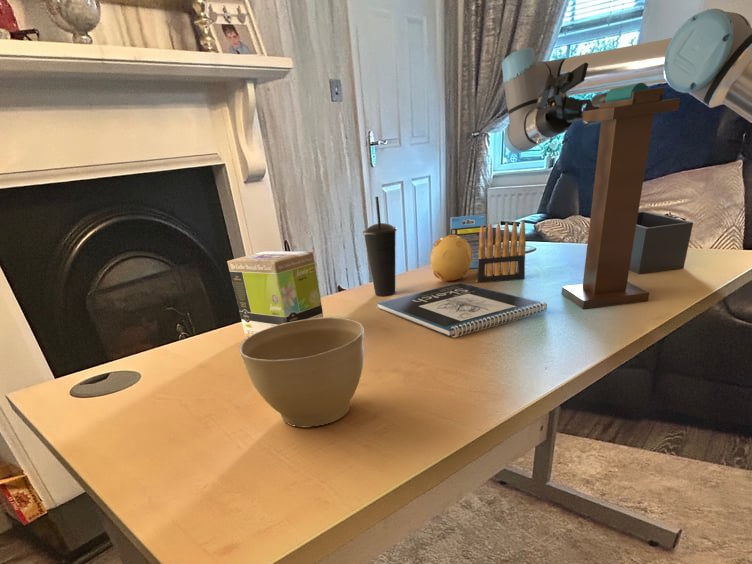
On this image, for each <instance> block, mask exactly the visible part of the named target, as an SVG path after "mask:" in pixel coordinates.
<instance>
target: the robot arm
mask: <svg viewBox="0 0 752 564" xmlns="http://www.w3.org/2000/svg"><path fill="white" fill-rule="evenodd" d="M501 69H502V70H501V71H502V82H503V88H504V93H505V94H504V95H505V100H506V106H507V114H508V122H509V123H508V124H507V125H506V127H505V130H504V133H503V141H504V145H505V147H506V149H507V150H508V151H509V152H511V153H512V154H521V153H524V152H526V151H530V150H532V149H533V148H535V147H537V146H539V145H541V144H542V143H544V142H546V141H548V140H551V139H552V138H555V137H557V136H559V135H561V134H563V133H565V132H566V131H567V130H568V129H569V128H570V127H571V125H572V124H573V123H575V122H579V121H581V122H582V118H583V111H590V110H597V109H599V106H598V107H594V106H593V105H592V103H591V101H592V99H589V98H587V99H578V98H575V97H573V96H579V95H586V94H587V95H588V94H594V93H600V92H609V91H610V90H611V89H613V88H618V87H622V86H627V85H632V84H637V83H645V84H646V85H647V86H651V85H659V84H666V83H667V84H668V86H670V88H672V89H673V90H675V92H679V93H681V94H689V95H690V96H693V97H694V98H695V99H697V100H698V101H700V102H701V103H703V105H706V106H707V107H708V108H710V109H713V108H715V107H718V106H721V105H724V106H726V107H727V108H729V109H730V110H732V111H734V112H735V113H736V114H737V115H739V116H741V117H742V118H744V119H745V120H746V121H748V122H749V123H751V124H752V26H751V24H750V22H749V20H748V19H747V18H746V17H745V16H744V15H742V14H740V13H738V12H730V11H725V10H723V9H721V8H709V9H706V10H703V11H700V12H698V13H696V14H694V15H692V16H691V17H690V18H688V19H687V20H686V21H684V22H683V23H682V24H681V26H679V28H678V29H677V30H676V32H675V33H674V35H673V36H672V37H671V38H665V39H660V40H653V41H649V42H644V43H639V44H634V45H629V46H628V45H627V46H622V47H617V48H612V49H606V50H601V51H595V52H591V53H584V54H580V55H579V54H578V55H575V56H569V57H566V58H565V57H564V58H559V59H554V60H553V59H552V60H545V61H540V60H537V58H536V54H535V50H534V48H532V47H530V46H529V47H524V48H521V49H518V50H516V51H514V52H512V53H510V54H508V55H507V56H506V57H505V58H504V59H503V61H502V63H501ZM584 107H585V108H584ZM597 124H601V121H589V122H583V125H582V126H583V127H585V128H586V127H590V126H593V125H597Z"/></svg>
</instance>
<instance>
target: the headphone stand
mask: <svg viewBox="0 0 752 564" xmlns="http://www.w3.org/2000/svg"><path fill="white" fill-rule="evenodd" d="M664 93H665V87H656V88H649V89H648V90H641V91H634V92H632V97H631V99H625V100H618V101H612V102H605V103H600V104H599V109H597V110H590V111H585V110H583V118H582V121H581V122H582V123H584V122H589V121H601V123H600V130H599V138H598V147H597V154H596V155H597V156H596V157H597V158H596V164H595V165H596V166H595V174H594V182H593V192H592V200H591V209H590V218H589V227H588V235H587V244H586V253H585V261H584V270H583V280H582V283H579V284H570V285H564V286H563V285H562V287H561V295H562V296H564V297H565V298H566V299H568V300H569V301H571V302H572V303H574V304H575V305H576V306H578V307H579V308H580V309H582V310H588V309H596V308H604V307H611V306H619V305H626V304H627V305H628V304H636V303H642V302H648V301H649V297H650V291H648V290H644V289H643V288H641V287H639V286H637V285H635V284H633V283H631V282H629V281H628V280H629V275H630V274H629V273H630V270H629V268H630V262H631V255H632V249H633V243H634V236H635V230H636V224H637V218H638V212H640V205H641V199H642V198H641V197H642V192H643V186H644V180H645V174H646V167H647V161H648V154H649V148H650V147H649V146H650V140H651V134H652V129H653V124H654V123H653V122H654V116H655V114H661V113H669V112H674V111H679V107H680V101H681V98H680V97H678V98H677V97H676V98H670V99H669V98H668V99H663V98H664Z"/></svg>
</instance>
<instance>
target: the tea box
mask: <svg viewBox="0 0 752 564" xmlns="http://www.w3.org/2000/svg"><path fill="white" fill-rule="evenodd" d="M226 263H227V266H228V270H229V276H230V278H231V283H232V287H233V291H234V296H235V299H236V304H237V307H238V312H239V315H240V319H241V324H242V327H243V328H242V329H243V331H244V335H245V334H249V335H253V334H255V333H257V332H259V331H262V330H264V329H267V328H270V327H273V326H276V325H280V324H283V323H288V322H293V321H299V320H305V319H312V318H325V316H324V312H323V305H322V299H321V294H320V285H319V280H318V275H317V267H316V262H315V256H314V251H311V250H309V251H296V250H295V251H293V250H291V251H288V250H285V251H283V250H278V251H277V250H275V251H273V250H271V251H270V250H269V251H267V250H266V251H261V252H257V253H252V254H248V255H245V256H241V257H238V258H233V259H230V260H227V261H226Z"/></svg>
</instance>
